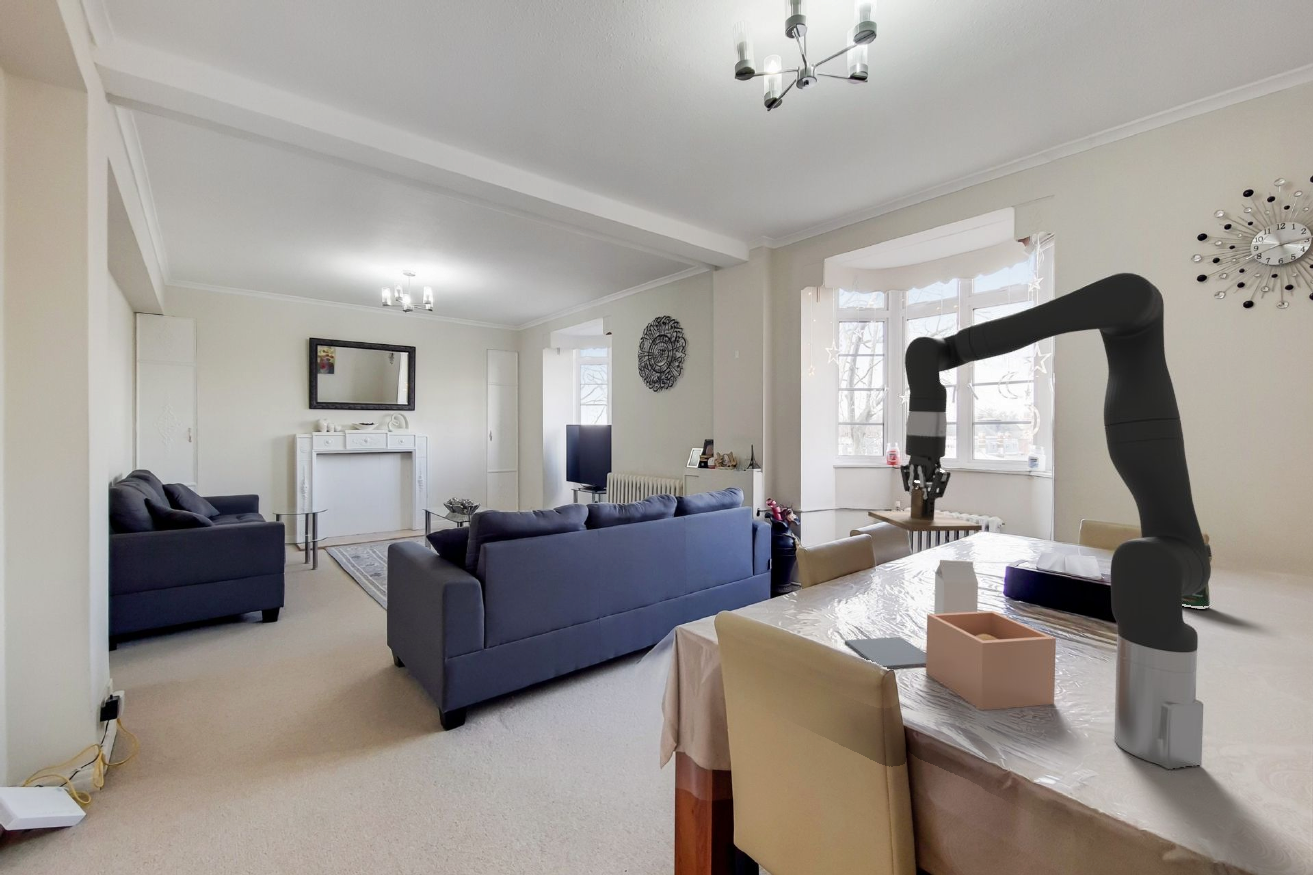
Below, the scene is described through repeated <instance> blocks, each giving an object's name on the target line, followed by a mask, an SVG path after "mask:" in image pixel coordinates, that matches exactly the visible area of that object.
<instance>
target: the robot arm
mask: <svg viewBox="0 0 1313 875" xmlns="http://www.w3.org/2000/svg"><path fill="white" fill-rule="evenodd" d="M1164 307H1165V305H1164V299H1163V296H1162V293H1161V292H1160V290H1159V289H1158V287H1156V285H1155V284H1153V283H1152V282H1150V281H1149V280H1148V279H1147V278H1145V277H1144V276H1141V275H1139V274H1136V273H1134V272H1133V273H1132V272H1120V273H1114V274H1111V275H1107V276H1105V277H1103V278H1100V279H1098V280H1095V281H1093V282H1091V283H1088V284H1086V285H1084V286H1082V287H1080V288H1078V289H1077V288H1076V289H1075V290H1073V291H1071V292H1068V293H1065V294H1064V295H1060V296H1058V297H1056V298H1054V299H1050V300H1048V301H1046V302H1042V303H1040V304H1038V305H1035V306H1032V307H1029V308H1026V309H1023V310H1020V311H1017V312H1013V313H1009V314H1006V315H1002V316H999V317H996V318H992V319H989V320H984V321H980V322H977V323H975V324H971V325H968V326H965V327H962V328H961V329H959V330H958V331H957V332H956V333H955V334H951V335H948V336H945V337H940V338H939V337H935V336H934V337H933V336H927V335H923V336H922V335H921V336H918V337H916V338H915V339H913V340H912V341H911V342H910V343H909V344H908V346H907V348H906V351H905V357H904V365H905V366H904V367H905V368H904V369H905V374H906V378H907V384H908V389H909V399H908V413H907V418H906V419H907V420H906V430H905V431H906V434H905V455H907V456H908V457H909V460H908V463H907V464H900V474H901V480H902V483H903V489H904V492H908V494H909V496H910V497H911V496H912V489H922V490H923V498H924V499H923V509H922V516H923V517H933V516H934V512H935V505H936V500H937V499H940V498H943V497H944V496H945V492H946V489H947V486H948V483H949V481H950V478H951V472H950V471H949V470H948V471H945V470H943V468H942V464H941V458H943V457H945V456H946V445H947V444H946V443H947V426H948V423H947V413H946V412H947V400H948V398H947V397H948V394H947V393H948V392H947V388H946V386H945V385H944V384H942V382H941V379H940V372H945V371H949V370H952V369H955V368H958V367H960V366H963V365H966V364H968V363H971V362H977V361H981V360H982V361H983V360H985V359H990V358H995V357H998V356H999V357H1000V356H1003V355H1007V354H1010V353H1013V352H1015V351H1019V350H1021V349H1023V348H1025V347H1028V346H1030V345H1033V344H1035V343H1037V342H1039V341H1043V340H1045V339H1049V338H1051V337H1055V336H1059V335H1064V334H1068V333H1074V332H1081V331H1083V332H1084V331H1089V330H1092V331H1093V330H1099V333H1100V336H1101V338H1102V342H1103V346H1104V350H1105V354H1106V359H1107V360H1106V361H1107V368H1108V374H1107V377H1108V378H1107V382H1106V383H1107V384H1106V389H1105V395H1104V404H1103V424H1104V425H1103V426H1104V433H1105V438H1106V446H1107V451H1108V454H1109V458H1110V460H1111V463H1112V464H1113V466H1114V468H1115V470H1116V472H1117V473H1118V474H1119V476H1120V478H1121V480H1122V481H1123V482H1124V484H1125V485H1126V487H1127V488H1128V490H1129V492H1130V493H1131V496H1132V498H1133V499H1134V502H1135V504H1136V507H1137V511H1138V515H1139V522H1140V524H1139V525H1140V532H1141V533H1140V534H1141V537H1138V538H1132V539H1129V540H1126V541H1124V542H1122V543H1121V544H1119V545H1118V547H1116V549H1115V550H1114V552H1113V554H1112V558H1111V563H1110V596H1111V597H1110V600H1111V601H1110V602H1111V612H1112V615H1113V618H1114V621H1116V625H1117V634H1116V638H1117V639H1116V667H1115V668H1116V669H1115V670H1116V671H1115V701H1114V704H1115V705H1114V736H1113V737H1114V741H1115V743H1116V745H1117V746H1119V747H1120V748H1121V749H1123V750H1124V751H1126V752H1127V753H1129V754H1131V755H1133V756H1135V757H1137V758H1140V759H1141V760H1145V761H1147V762H1150V763H1153V764H1157V765H1159V766H1161V767H1163V768H1165V769H1167V770H1174V769H1173V768H1175V769H1181V768H1180V767H1184V766H1192V767H1198V766H1197V765H1201V766H1202V764H1203V763H1202V761H1203V731H1204V730H1203V728H1204V727H1203V726H1204V703H1203V702H1202V701H1200V700H1198V699H1197V670H1198V669H1197V667H1198V666H1197V665H1198V647H1199V646H1198V645H1199V644H1198V641H1199V639H1198V638H1199V637H1198V632H1197V630H1196V629H1195V628H1194V627H1193V626H1191V625H1190V624H1188V623H1186V622H1185V621H1184V615H1183V614H1184V613H1183V612H1184V611H1183V607H1182V596H1187V595H1192V594H1195V593H1197V592H1199V591H1201V590H1202V589H1203V588H1204V587H1205V586H1206V585H1207V583H1208V584H1209V581H1210V578H1211V573H1212V569H1211V568H1212V566H1211V562H1210V560H1209V556H1208V553H1207V549H1206V546H1205V540H1204V537H1203V533H1202V530H1201V526H1200V523H1199V520H1198V516H1197V512H1196V510H1195V505H1194V500H1193V495H1192V494H1193V493H1192V487H1191V480H1190V474H1189V469H1188V464H1187V457H1186V449H1185V440H1184V433H1183V427H1182V421H1181V415H1180V410H1179V406H1178V402H1177V401H1178V400H1177V397H1176V394H1175V390H1174V385H1173V382H1172V377H1171V375H1170V372H1169V368H1168V364H1167V360H1166V359H1167V358H1166V352H1165V350H1166V349H1165V332H1164V331H1165V327H1164V326H1165V316H1164V314H1165V312H1164V311H1165V308H1164ZM928 489H930V491H929V493H928ZM1194 765H1195V766H1194ZM1184 768H1185V767H1184Z"/></svg>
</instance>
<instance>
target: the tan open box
mask: <svg viewBox="0 0 1313 875" xmlns="http://www.w3.org/2000/svg"><path fill="white" fill-rule="evenodd" d="M980 634H987V635H990V636H993V637H995V638H997V639H998V640H985V641H983V640H981V639H979V638H977V637H975V636H977V635H980ZM1056 644H1057V638H1056V637H1054V636H1051V635H1049V634H1047V633H1044V632H1042V631H1040V630H1038V629H1035V628H1033V627H1031V626H1029V625H1026V624H1024V623H1022V622H1019V621H1016V620H1014V619H1012V618H1010V617H1008V616H1006V615H1002V614H1000V613H998V612H996V611H994V610H985V611H984V610H982V611H977V612H962V613H943V614H934V613H930V614H928V613H927V616H926V648H925V649H926V650H925V653H926V666H925V674H927V675H928V676H930V677H931V678H933V679H934V680H936V681H937V682H939V683H940V684H941V685H943V686H945V687H946V688H947V689H949V690H951V691H952V692H953V693H954V694H957V695H958V696H959V697H961V698H962V699H964V700H965V701H967V702H968V703H970V704H971V705H972V706H974V707H975V708H977V709H978V710H980V711H989V710H1001V709H1012V708H1013V709H1014V708H1021V707H1033V706H1036V707H1037V706H1045V705H1046V706H1047V705H1055V684H1056V683H1055V682H1056V680H1055V679H1056V655H1057V654H1056V653H1057V652H1056V651H1057V650H1056V648H1057V645H1056Z"/></svg>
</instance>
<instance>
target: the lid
mask: <svg viewBox="0 0 1313 875" xmlns="http://www.w3.org/2000/svg"><path fill="white" fill-rule="evenodd" d="M930 489H931V488H928V493H929V491H930ZM910 497H911V498H910V510H868V511H867V514H868V515H867V516H868V517H870V518H872V519H876V520H879V521H882V522H884V523H887V524H889V525H893V526H895V527H898V528H901V529H902V530H906V531H909V532H952V531H953V532H956V531H962V532H963V531H969V532H970V531H972V532H973V531H983V530H982V529H983V524H982V525H981V524H978V523H975V522H972V521H969V520H966V519H965V520H964V519H961V518H958V517H956V516H955V517H954V516H951V515H948V514H944V513H941V512H937V511H934V516H933V517H923V516H922V509H923V499H924V498H923V490H922V489H912V496H910Z"/></svg>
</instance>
